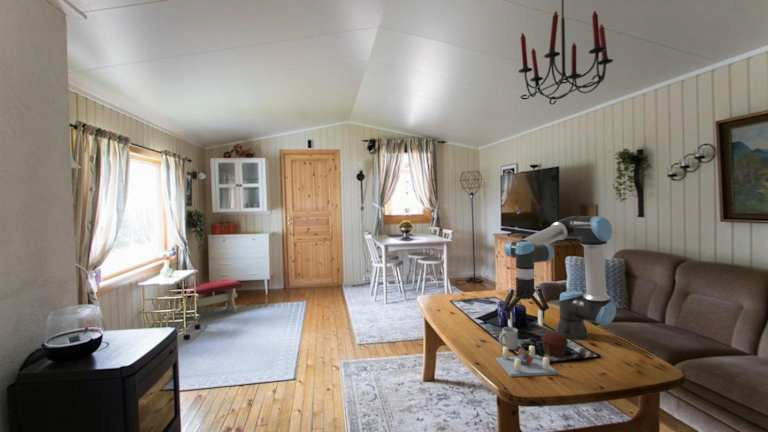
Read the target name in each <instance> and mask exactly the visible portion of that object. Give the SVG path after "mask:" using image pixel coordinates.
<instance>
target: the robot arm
mask: <svg viewBox="0 0 768 432" xmlns="http://www.w3.org/2000/svg"><path fill="white" fill-rule="evenodd" d="M612 235H613V228H612V224H611V222H610V221H609V220H608V219H607V218H606V217H604V216H597V215H595V216H593V215H591V216H590V215H587V216H585V215H573V216H568V217H565V218H563V219H559V220H556V221H554V222H553V223H552V224H551V225H550V226H548V227H547V228H545V229H542V230H540V231H538V232H536V233H533V234H531V235H529V236H527V237H525V238H523V239H520V240H518V241H508V242H507V243H506V244H505V245H504V249H503V251H504V254H505V255H506V256H507V257H508V258H513V259H515V277H516V278H515V289H512V288H508V294H507V296H506V297H505V300H504V302H503V304H502V305H501V310H502V311H504V312H505V318H506V320H507V327H513V312H512V310H513V309H514V308H515V307H516V306H517V304H518V302H520V301H521V300H531V301H533V303H534V304H535V306H537V308H538V309H537V324H538V325H539V326H541V327H543V326H544V323H543V322H544V321H543V320H544V318H545V312H546V311H547V310H549V309H550V307H549V304H548V303H547V300H546V299H545V296H544V295H543V294H544V293H543V291H542V288H540V287H538V286H537V287H535V264H536V263H543V262H544V263H545V262H548V261H551V260H552V259H553V258H554V256H555V250H554V248H553V246H551V245H550V244H552V243H554V242H556V241H563V240H565V239H577V240H578V239H579V244H580V245H581V246H582V247H583V257H584V273H585V275H584V276H585V288H586V290H585V291H586V293H584V292H583V291H575V290H574V291H571V290H570V291H563V292H561V293H560V294H559V320H558V322H557V325H556V327H555V332H559V333H561V334H562V335H564V336H565V337H566V339H570V340H585V339H587V338H588V336H589V333H588V330H587V328H586V324H585V321H588V322H590V323H594V324H598V325H603V326H607V325H610V324H611V323H612V322H613V321H614V319H615V317H616V313H617V306H616V304H615V303H614V302H611V297H610V296H609V295H608V293H607V285H606V284H607V283H606V281H607V280H606V266H605V265H606V263H605V250H604V247H605V246H607V244H608V242H609V241H610V240H611V238H612ZM535 293H536V295H537V296H538V299H539V300H540V301H539V300H538V299H537V297H536V296H535V295H534V294H535ZM513 297H514V298H513Z"/></svg>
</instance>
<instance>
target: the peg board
mask: <svg viewBox="0 0 768 432" xmlns="http://www.w3.org/2000/svg"><path fill="white" fill-rule="evenodd" d="M535 347H536V346H534V345H529V346H528V351H529V350H530V353H529V355H530V356H532V357H533V358H534V359H533V360H532V362H531V365H530V366H529V365H527V363H526V362H525V363H522V365H521V359H520V358H519V357H517V356H516V355H515V356H509V350H508V347H503V346H502V356H498V357H495V361H496V362H497V363H498V364H499V365H500V366H501V367H502V369H503V370H504V371H505V372H506V373H507V374H508V376H509V377H510V378H513V377H514V378H515V377H532V376H552V375H553V376H555V375H558V371H557V370H555V368H554V367H552V366H551V365H550V358H549V357H546V356H544V357H541V356H539V355H536V348H535Z"/></svg>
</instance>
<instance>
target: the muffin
mask: <svg viewBox="0 0 768 432" xmlns="http://www.w3.org/2000/svg"><path fill="white" fill-rule="evenodd" d="M541 342H542V346H543V352H544V354H545V355H547V356H549V357H552V356H554V358H563V357H565V356H566V352H567V345H568V342H569V341H568V338H566V337H565V336H564V335H562V334H561V333H559V332H556V330H555V331H554V330H553V331H551V330H550V331H547V332H546V333H544V334H543V335H542V336H541ZM564 355H565V356H564Z"/></svg>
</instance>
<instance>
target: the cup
mask: <svg viewBox="0 0 768 432" xmlns="http://www.w3.org/2000/svg"><path fill="white" fill-rule="evenodd" d="M501 330H502V331H501V333H500V334H499V337H498V344H500V346H502V348H503V347H508V351H509V350H510V351H514V349H515V350H517V349H518V344H519V343H518V337H519V336H518V333H519V331H518V329H517V328H516V327H513V326H512V327H509V326H504V327H502V329H501Z"/></svg>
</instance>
